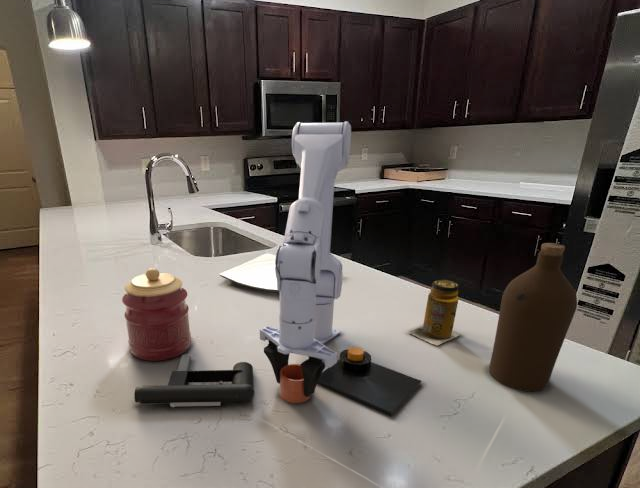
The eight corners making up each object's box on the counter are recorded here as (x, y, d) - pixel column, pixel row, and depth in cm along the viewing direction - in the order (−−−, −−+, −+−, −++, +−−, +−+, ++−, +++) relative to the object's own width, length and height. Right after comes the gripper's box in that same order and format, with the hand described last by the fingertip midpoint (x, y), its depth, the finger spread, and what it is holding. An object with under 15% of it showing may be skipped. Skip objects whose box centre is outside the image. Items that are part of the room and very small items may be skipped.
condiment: (459, 335, 92) (470, 284, 88) (436, 346, 88) (446, 293, 83) (430, 323, 98) (439, 275, 93) (407, 333, 94) (415, 283, 89)
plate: (213, 283, 125) (212, 274, 124) (265, 259, 147) (265, 251, 146) (295, 303, 110) (296, 293, 109) (341, 273, 132) (341, 265, 131)
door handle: (152, 351, 83) (131, 395, 68) (253, 349, 83) (254, 393, 68) (154, 366, 84) (133, 413, 69) (253, 364, 84) (254, 410, 69)
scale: (313, 382, 76) (314, 370, 75) (348, 356, 85) (349, 345, 84) (391, 417, 67) (392, 404, 66) (421, 383, 76) (423, 371, 75)
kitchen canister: (156, 328, 98) (147, 255, 91) (203, 339, 92) (197, 263, 85) (116, 354, 87) (103, 273, 80) (167, 368, 82) (157, 283, 75)
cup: (273, 394, 73) (273, 373, 71) (292, 381, 77) (292, 360, 75) (298, 407, 70) (299, 384, 68) (316, 393, 73) (317, 371, 72)
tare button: (344, 358, 80) (344, 351, 79) (352, 352, 82) (352, 345, 81) (358, 363, 78) (359, 356, 78) (366, 357, 80) (366, 350, 80)
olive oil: (550, 401, 70) (595, 258, 60) (480, 381, 76) (512, 247, 66) (552, 372, 78) (593, 242, 68) (489, 356, 84) (519, 234, 74)
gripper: (247, 312, 69) (248, 381, 74) (321, 338, 60) (316, 415, 65) (274, 299, 74) (274, 365, 79) (346, 322, 65) (340, 395, 70)
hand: (295, 387), depth 73 cm, fingers closed on cup, 5 cm apart
